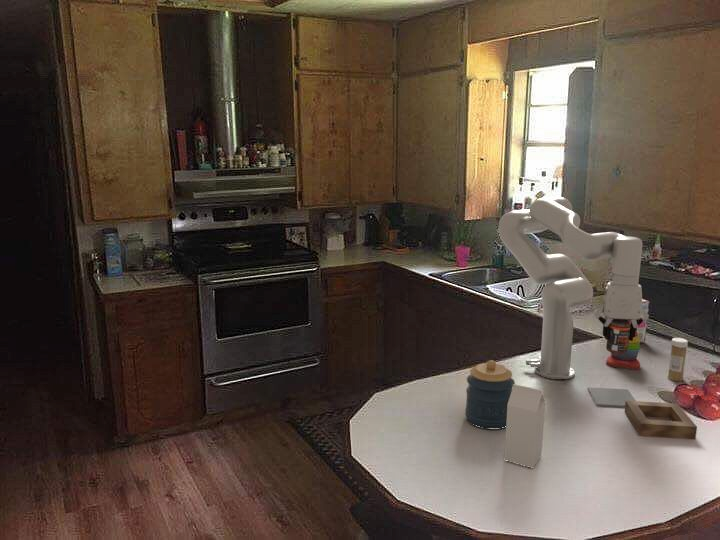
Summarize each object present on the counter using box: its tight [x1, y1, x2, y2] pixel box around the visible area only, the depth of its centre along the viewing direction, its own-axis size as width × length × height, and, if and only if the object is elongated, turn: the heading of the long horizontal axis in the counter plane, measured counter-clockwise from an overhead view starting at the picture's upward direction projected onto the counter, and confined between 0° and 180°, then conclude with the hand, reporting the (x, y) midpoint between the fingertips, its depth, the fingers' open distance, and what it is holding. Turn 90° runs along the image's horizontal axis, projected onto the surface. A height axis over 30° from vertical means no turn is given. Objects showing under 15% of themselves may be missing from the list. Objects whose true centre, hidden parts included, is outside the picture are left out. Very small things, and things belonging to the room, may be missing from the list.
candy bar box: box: [636, 298, 650, 344], centre depth 235 cm, size 11×5×16 cm, turn 14°
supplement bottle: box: [605, 319, 631, 354], centre depth 180 cm, size 6×6×11 cm
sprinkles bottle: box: [667, 337, 689, 382], centre depth 197 cm, size 5×5×13 cm
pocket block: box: [624, 400, 698, 440], centre depth 167 cm, size 14×14×4 cm
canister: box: [464, 359, 516, 428], centre depth 169 cm, size 13×13×18 cm
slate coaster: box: [587, 386, 637, 408], centre depth 184 cm, size 12×12×1 cm
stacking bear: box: [605, 320, 641, 371], centre depth 210 cm, size 11×10×18 cm
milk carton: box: [503, 383, 546, 469], centre depth 149 cm, size 7×7×19 cm
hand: (618, 338), depth 180 cm, fingers closed on supplement bottle, 6 cm apart
